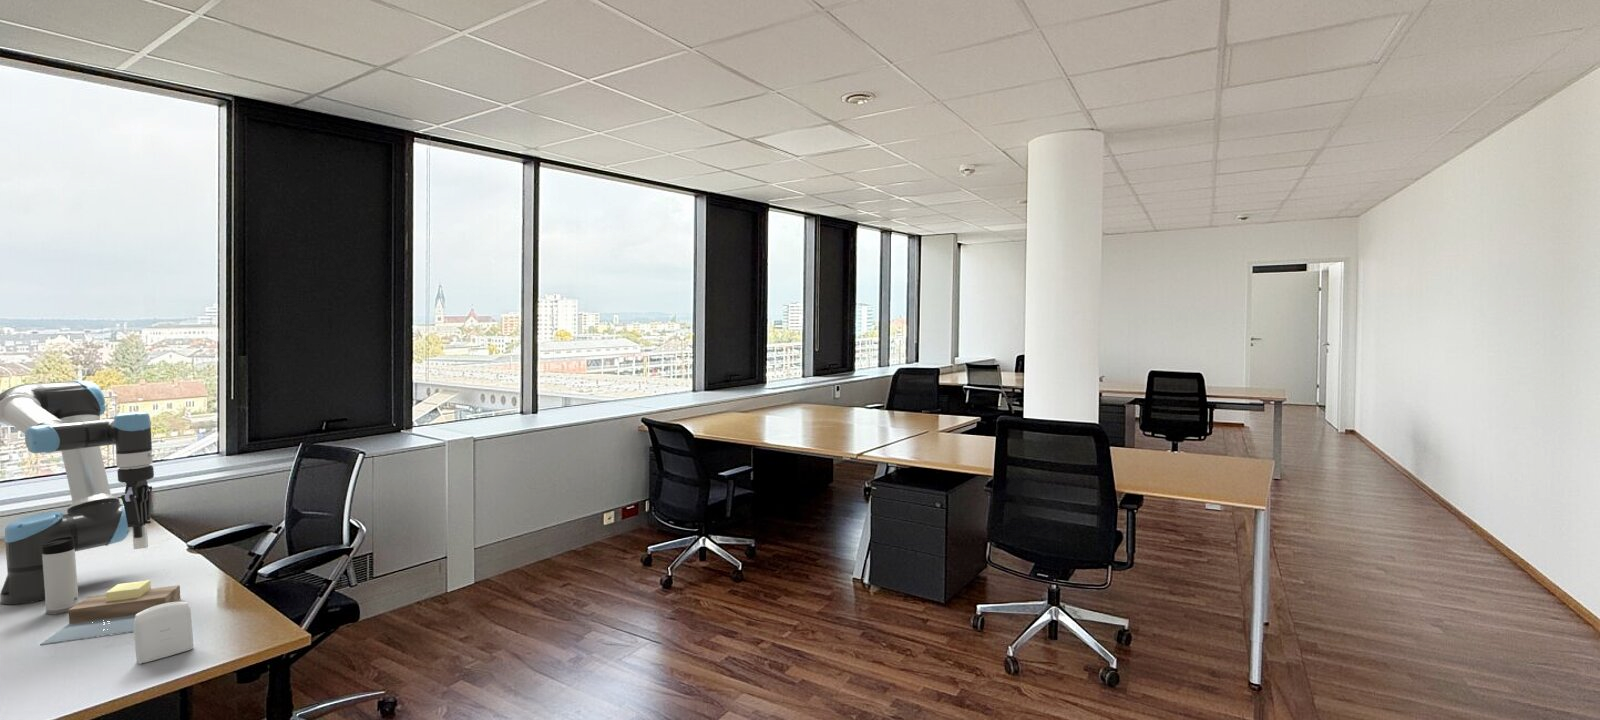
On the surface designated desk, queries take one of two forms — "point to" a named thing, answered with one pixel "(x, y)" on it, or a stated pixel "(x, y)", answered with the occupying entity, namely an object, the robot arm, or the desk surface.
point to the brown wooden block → (121, 605)
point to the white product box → (163, 631)
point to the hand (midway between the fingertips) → (141, 547)
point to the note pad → (128, 590)
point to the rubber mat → (92, 629)
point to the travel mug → (60, 575)
